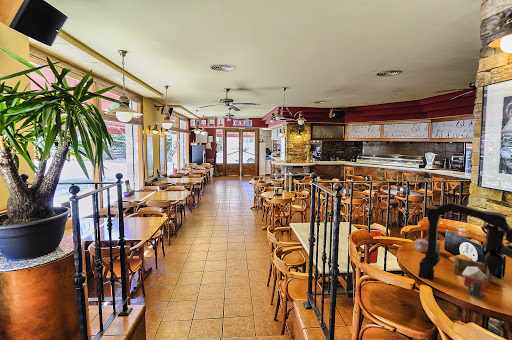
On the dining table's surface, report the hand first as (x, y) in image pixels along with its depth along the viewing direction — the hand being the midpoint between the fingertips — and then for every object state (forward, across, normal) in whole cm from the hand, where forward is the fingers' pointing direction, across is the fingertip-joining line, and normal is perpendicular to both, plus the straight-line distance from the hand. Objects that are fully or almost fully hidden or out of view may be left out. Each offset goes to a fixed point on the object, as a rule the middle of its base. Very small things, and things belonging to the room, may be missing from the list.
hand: (489, 269), depth 127 cm
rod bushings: (+14, -1, +4) cm, 14 cm away
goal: (+14, +22, +4) cm, 26 cm away
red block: (+14, 0, +4) cm, 14 cm away
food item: (+14, +43, +26) cm, 53 cm away
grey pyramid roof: (+14, +12, +4) cm, 19 cm away
